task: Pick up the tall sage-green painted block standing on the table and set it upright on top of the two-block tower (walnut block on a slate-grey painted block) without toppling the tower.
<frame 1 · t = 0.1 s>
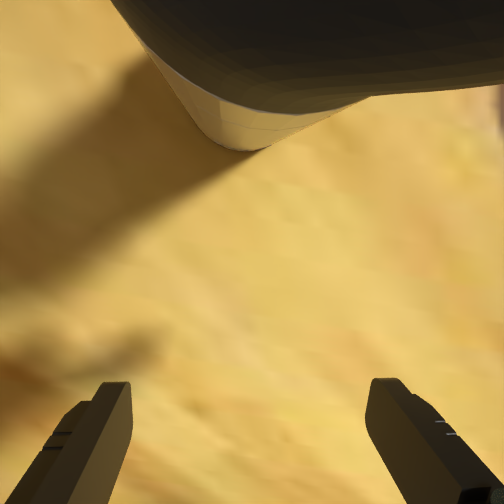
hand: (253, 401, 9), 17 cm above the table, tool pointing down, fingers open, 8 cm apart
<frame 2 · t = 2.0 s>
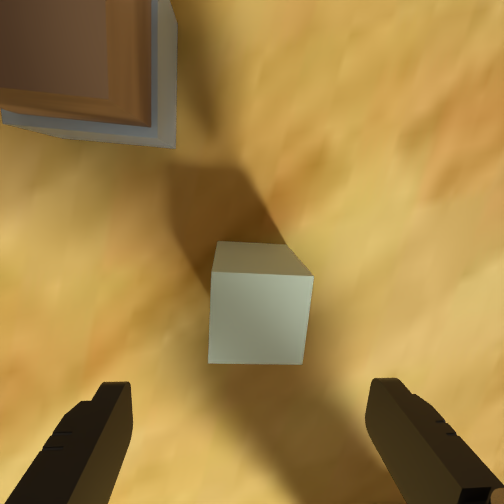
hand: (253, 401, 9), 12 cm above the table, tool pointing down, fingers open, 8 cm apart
green block: (250, 275, 21), on the table
tower base: (119, 83, 17), on the table
tower top: (82, 48, 13), point 5 cm above the table
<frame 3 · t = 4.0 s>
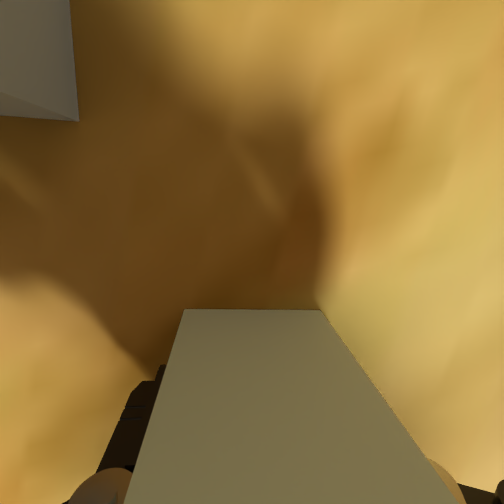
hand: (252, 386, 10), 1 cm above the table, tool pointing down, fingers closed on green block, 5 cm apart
green block: (250, 368, 11), on the table, touching gripper
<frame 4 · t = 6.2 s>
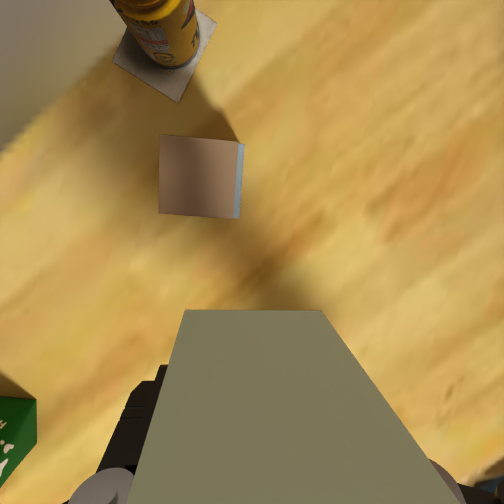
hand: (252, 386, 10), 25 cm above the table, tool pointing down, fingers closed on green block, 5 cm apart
green block: (251, 369, 11), point 24 cm above the table, touching gripper
tower base: (209, 179, 32), on the table, touching tower top
condiment: (165, 44, 29), on the table
milk carton: (10, 418, 38), on the table
tower top: (204, 179, 27), point 5 cm above the table, touching tower base
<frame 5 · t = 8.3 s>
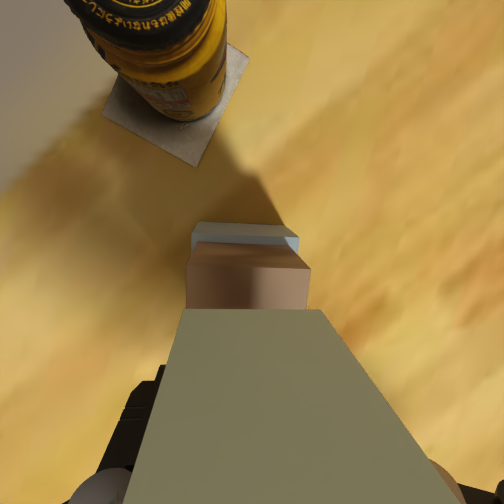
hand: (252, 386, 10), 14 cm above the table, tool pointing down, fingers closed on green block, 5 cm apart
green block: (250, 368, 11), point 13 cm above the table, touching gripper
tower base: (240, 264, 24), on the table, touching tower top
condiment: (176, 88, 20), on the table
tower top: (241, 286, 19), point 5 cm above the table, touching tower base
when the fingers open (12 cm above the table, at t = 9.7 s): green block drops 1 cm, resting on tower top.
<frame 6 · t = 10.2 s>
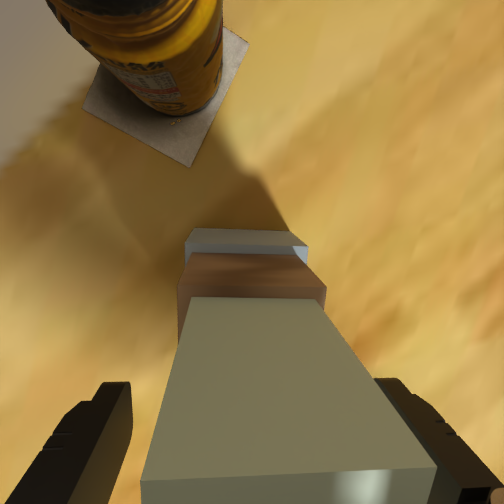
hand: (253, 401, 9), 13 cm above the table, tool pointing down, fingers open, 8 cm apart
green block: (251, 352, 12), point 10 cm above the table, touching tower top
tower base: (240, 274, 22), on the table, touching tower top
condiment: (167, 78, 18), on the table
tower top: (243, 302, 17), point 5 cm above the table, touching green block, tower base
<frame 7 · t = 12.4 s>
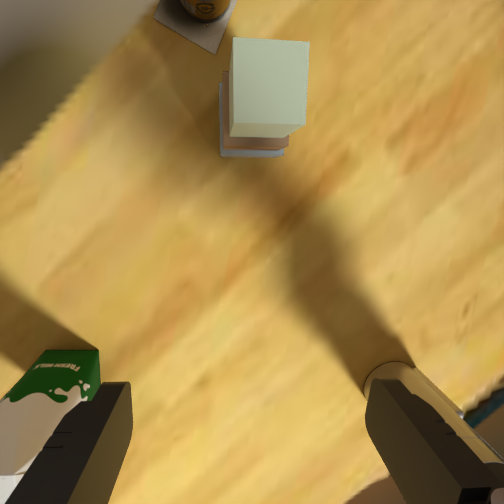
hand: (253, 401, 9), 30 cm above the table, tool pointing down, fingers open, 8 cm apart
green block: (257, 107, 26), point 10 cm above the table, touching tower top
tower base: (247, 127, 35), on the table
milk carton: (75, 370, 41), on the table
tower top: (250, 120, 30), point 5 cm above the table, touching green block
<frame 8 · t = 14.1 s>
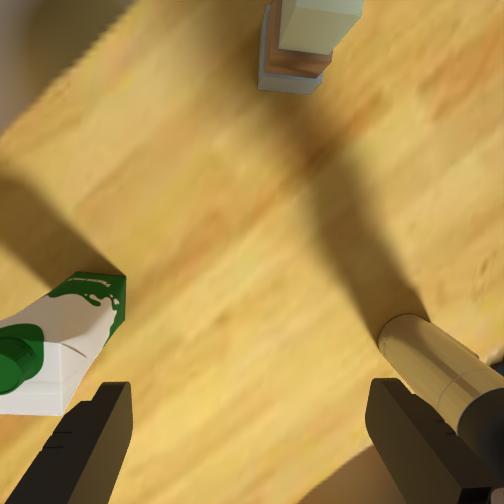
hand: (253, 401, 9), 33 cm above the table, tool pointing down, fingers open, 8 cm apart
green block: (306, 21, 27), point 10 cm above the table, touching tower top
tower base: (286, 62, 37), on the table, touching tower top
milk carton: (101, 296, 42), on the table
tower top: (293, 45, 32), point 5 cm above the table, touching green block, tower base
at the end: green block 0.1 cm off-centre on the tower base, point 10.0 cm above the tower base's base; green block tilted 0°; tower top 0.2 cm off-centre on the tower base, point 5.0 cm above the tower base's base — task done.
